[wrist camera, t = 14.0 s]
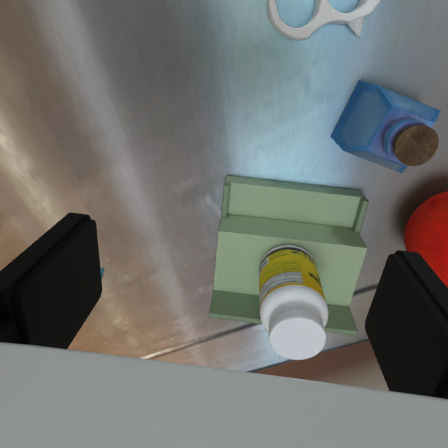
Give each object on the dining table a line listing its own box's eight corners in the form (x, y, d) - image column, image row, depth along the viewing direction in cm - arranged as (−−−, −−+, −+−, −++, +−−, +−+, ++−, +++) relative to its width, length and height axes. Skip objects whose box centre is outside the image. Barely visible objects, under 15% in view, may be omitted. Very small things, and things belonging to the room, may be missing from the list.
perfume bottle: (358, 80, 35) (403, 91, 25) (412, 102, 36) (478, 122, 25) (330, 136, 38) (359, 168, 28) (380, 156, 39) (428, 194, 28)
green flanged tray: (226, 175, 41) (217, 212, 31) (359, 189, 41) (393, 232, 31) (218, 262, 47) (208, 317, 37) (335, 276, 46) (356, 335, 37)
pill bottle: (318, 284, 39) (340, 363, 29) (265, 292, 40) (267, 370, 30) (311, 237, 36) (331, 306, 26) (253, 247, 37) (252, 316, 27)
